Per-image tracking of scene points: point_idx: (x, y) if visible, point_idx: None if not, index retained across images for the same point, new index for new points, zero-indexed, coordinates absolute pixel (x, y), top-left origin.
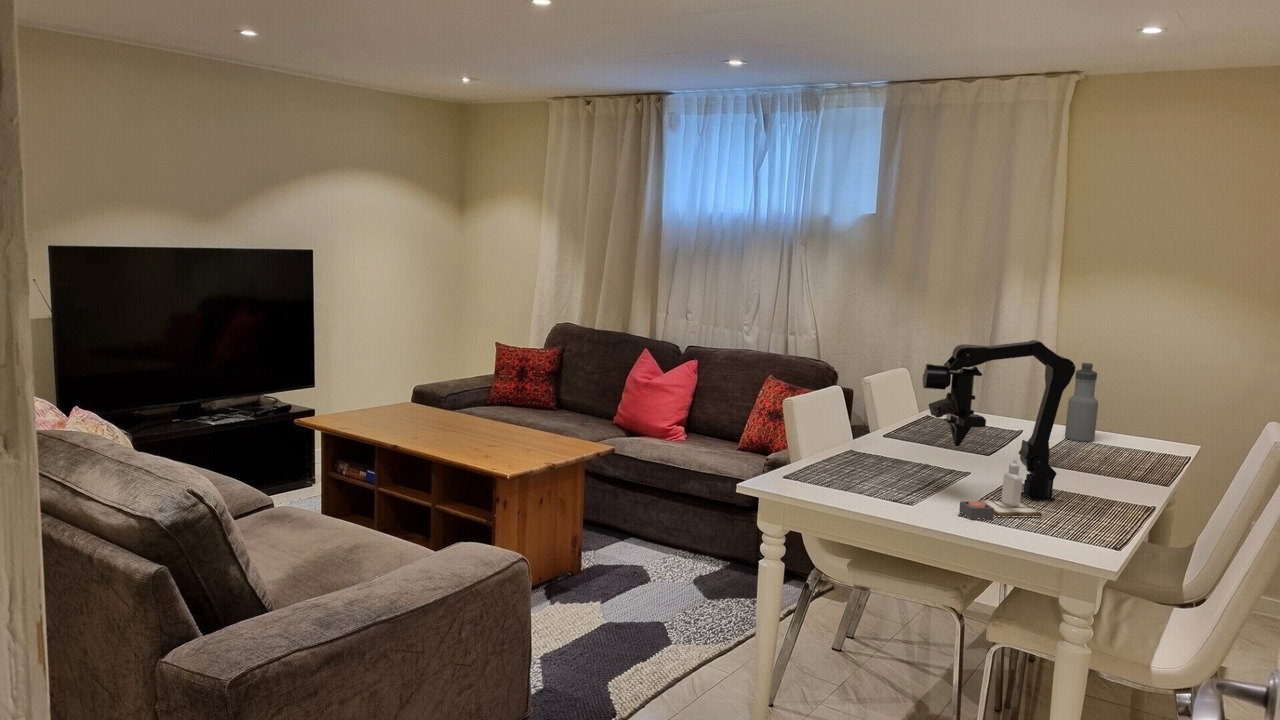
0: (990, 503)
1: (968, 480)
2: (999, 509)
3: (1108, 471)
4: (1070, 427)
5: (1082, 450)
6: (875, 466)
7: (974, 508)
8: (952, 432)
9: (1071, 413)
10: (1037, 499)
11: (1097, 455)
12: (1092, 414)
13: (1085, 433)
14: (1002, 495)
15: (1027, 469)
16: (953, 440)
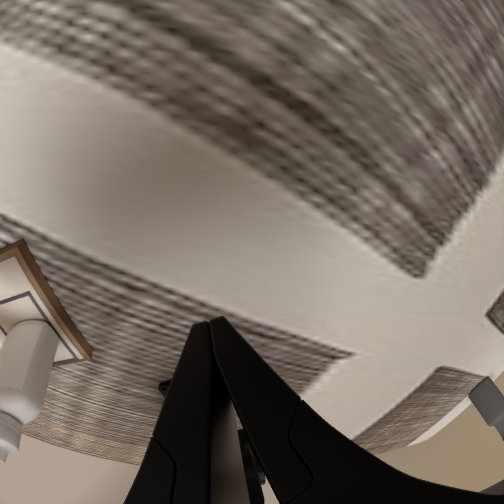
0: (4, 285)
1: (353, 263)
2: None
3: (377, 431)
4: (488, 390)
5: (453, 397)
6: (470, 18)
7: None
8: (275, 426)
9: (497, 400)
10: (161, 391)
11: (434, 410)
12: (483, 415)
13: (475, 398)
14: (27, 334)
15: (244, 432)
16: (240, 344)
